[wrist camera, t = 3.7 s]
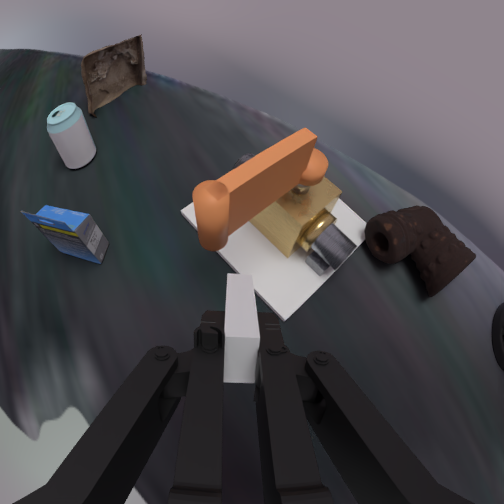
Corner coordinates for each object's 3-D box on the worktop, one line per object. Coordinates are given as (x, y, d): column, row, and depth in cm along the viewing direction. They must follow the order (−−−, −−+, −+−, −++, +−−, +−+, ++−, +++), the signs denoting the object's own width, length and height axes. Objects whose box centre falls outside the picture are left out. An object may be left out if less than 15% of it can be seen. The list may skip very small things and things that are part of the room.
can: (66, 176, 46) (42, 132, 35) (65, 153, 48) (45, 110, 38) (98, 162, 48) (79, 114, 37) (95, 140, 50) (78, 95, 39)
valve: (351, 253, 42) (385, 212, 32) (318, 288, 40) (349, 252, 29) (259, 170, 48) (268, 117, 37) (222, 195, 45) (222, 141, 35)
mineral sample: (94, 119, 53) (76, 64, 39) (86, 114, 54) (69, 61, 40) (151, 83, 60) (143, 30, 46) (141, 79, 60) (133, 29, 47)
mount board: (370, 232, 46) (373, 229, 45) (283, 321, 38) (285, 320, 37) (276, 151, 51) (277, 147, 50) (181, 214, 44) (180, 210, 43)
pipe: (376, 201, 37) (443, 288, 31) (429, 181, 42) (484, 249, 36) (352, 242, 46) (405, 318, 39) (405, 217, 50) (452, 279, 44)
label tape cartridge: (111, 242, 41) (79, 195, 30) (101, 265, 39) (65, 223, 28) (68, 231, 41) (33, 187, 30) (58, 252, 39) (19, 211, 28)
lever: (303, 152, 34) (316, 108, 28) (330, 174, 33) (349, 131, 27) (188, 231, 28) (179, 187, 22) (217, 262, 27) (215, 223, 21)
